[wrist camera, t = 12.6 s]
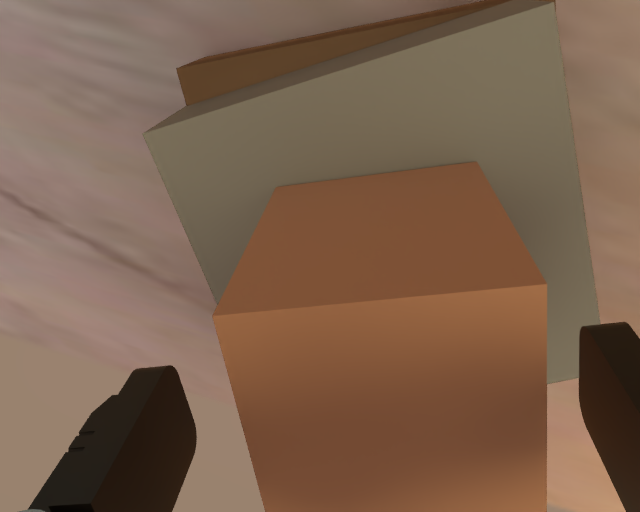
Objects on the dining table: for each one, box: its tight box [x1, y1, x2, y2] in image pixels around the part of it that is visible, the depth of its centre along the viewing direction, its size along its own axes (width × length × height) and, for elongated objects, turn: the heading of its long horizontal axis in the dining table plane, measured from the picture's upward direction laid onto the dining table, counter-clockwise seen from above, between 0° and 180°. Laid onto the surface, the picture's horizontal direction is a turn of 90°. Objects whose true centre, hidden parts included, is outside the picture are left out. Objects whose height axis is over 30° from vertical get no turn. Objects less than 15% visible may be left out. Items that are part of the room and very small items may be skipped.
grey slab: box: [143, 0, 600, 384], centre depth 19 cm, size 11×11×4 cm
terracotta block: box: [212, 162, 547, 512], centre depth 14 cm, size 6×6×7 cm
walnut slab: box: [176, 0, 556, 106], centre depth 22 cm, size 12×12×4 cm
